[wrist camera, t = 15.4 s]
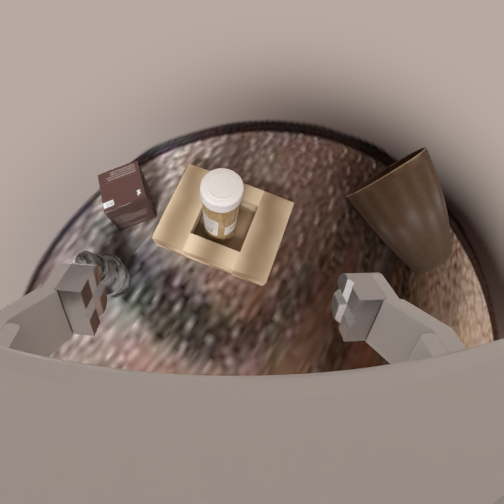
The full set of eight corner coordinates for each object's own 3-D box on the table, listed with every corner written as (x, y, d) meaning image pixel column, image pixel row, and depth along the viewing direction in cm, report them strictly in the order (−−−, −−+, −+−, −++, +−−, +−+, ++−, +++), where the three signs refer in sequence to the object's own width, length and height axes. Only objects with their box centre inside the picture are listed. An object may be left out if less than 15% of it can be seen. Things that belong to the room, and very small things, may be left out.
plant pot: (447, 230, 47) (406, 154, 46) (489, 241, 32) (440, 139, 32) (384, 274, 50) (339, 197, 49) (411, 299, 36) (354, 194, 35)
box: (148, 183, 44) (138, 159, 37) (157, 218, 43) (147, 197, 36) (112, 196, 43) (96, 174, 35) (119, 231, 41) (103, 213, 34)
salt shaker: (117, 250, 41) (86, 222, 29) (140, 282, 40) (113, 263, 28) (88, 275, 39) (49, 256, 28) (110, 307, 38) (73, 298, 27)
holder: (288, 212, 45) (294, 202, 42) (262, 286, 42) (266, 282, 38) (190, 175, 45) (189, 163, 41) (156, 244, 41) (152, 237, 38)
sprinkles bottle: (239, 240, 43) (249, 201, 30) (207, 247, 42) (204, 210, 29) (231, 210, 44) (238, 162, 31) (200, 217, 43) (195, 171, 30)
